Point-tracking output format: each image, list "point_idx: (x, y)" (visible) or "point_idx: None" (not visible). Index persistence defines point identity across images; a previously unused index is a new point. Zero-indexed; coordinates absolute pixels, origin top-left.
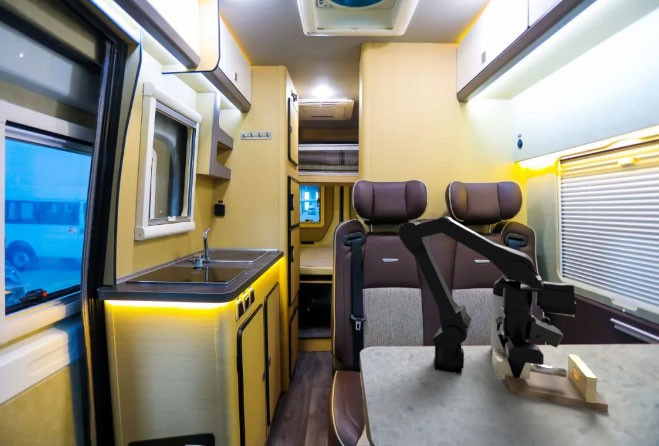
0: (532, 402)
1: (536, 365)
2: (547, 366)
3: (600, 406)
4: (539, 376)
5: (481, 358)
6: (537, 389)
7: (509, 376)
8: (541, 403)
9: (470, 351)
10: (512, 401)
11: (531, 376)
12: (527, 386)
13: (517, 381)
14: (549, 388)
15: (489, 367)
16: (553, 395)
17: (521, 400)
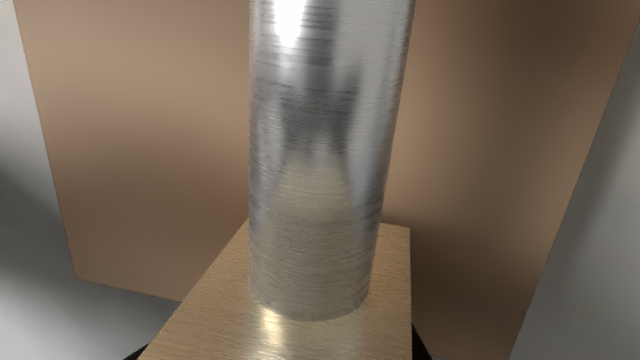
0: (607, 226)
1: (328, 220)
2: (318, 8)
3: None
4: (230, 42)
5: (61, 328)
6: (522, 174)
7: None
8: (623, 158)
9: (5, 355)
10: (595, 355)
11: None
12: (473, 245)
13: None
14: (481, 26)
15: (160, 325)
16: (626, 34)
17: (579, 293)
